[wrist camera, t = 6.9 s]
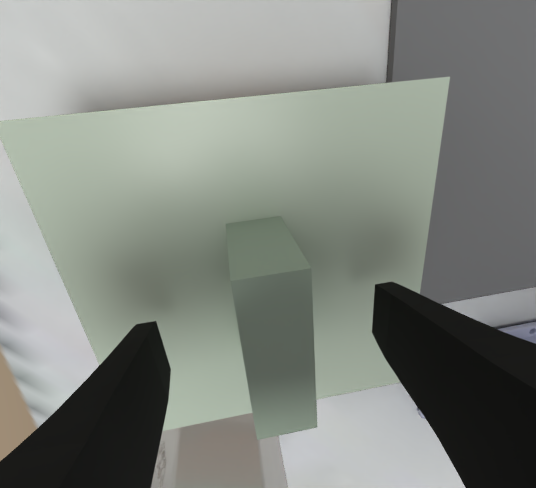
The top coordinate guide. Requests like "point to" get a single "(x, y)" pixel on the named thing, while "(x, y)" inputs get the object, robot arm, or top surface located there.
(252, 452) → the jar
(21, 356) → the top surface
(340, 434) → the top surface
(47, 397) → the top surface
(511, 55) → the mat
